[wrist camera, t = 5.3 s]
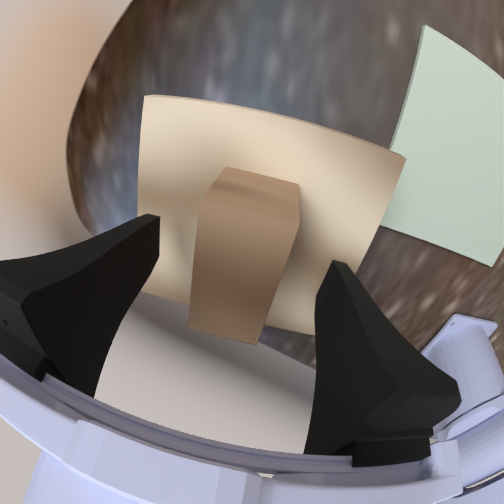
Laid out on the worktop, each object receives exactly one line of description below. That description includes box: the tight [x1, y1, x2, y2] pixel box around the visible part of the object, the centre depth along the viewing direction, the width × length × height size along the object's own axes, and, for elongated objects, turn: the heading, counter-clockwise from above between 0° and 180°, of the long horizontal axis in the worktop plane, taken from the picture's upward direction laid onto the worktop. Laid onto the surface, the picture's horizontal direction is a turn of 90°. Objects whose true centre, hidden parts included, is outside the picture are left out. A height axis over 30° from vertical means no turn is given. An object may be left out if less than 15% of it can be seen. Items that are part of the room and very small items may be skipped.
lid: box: [138, 95, 406, 345], centre depth 12 cm, size 11×11×4 cm
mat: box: [379, 25, 504, 267], centre depth 13 cm, size 13×13×1 cm
